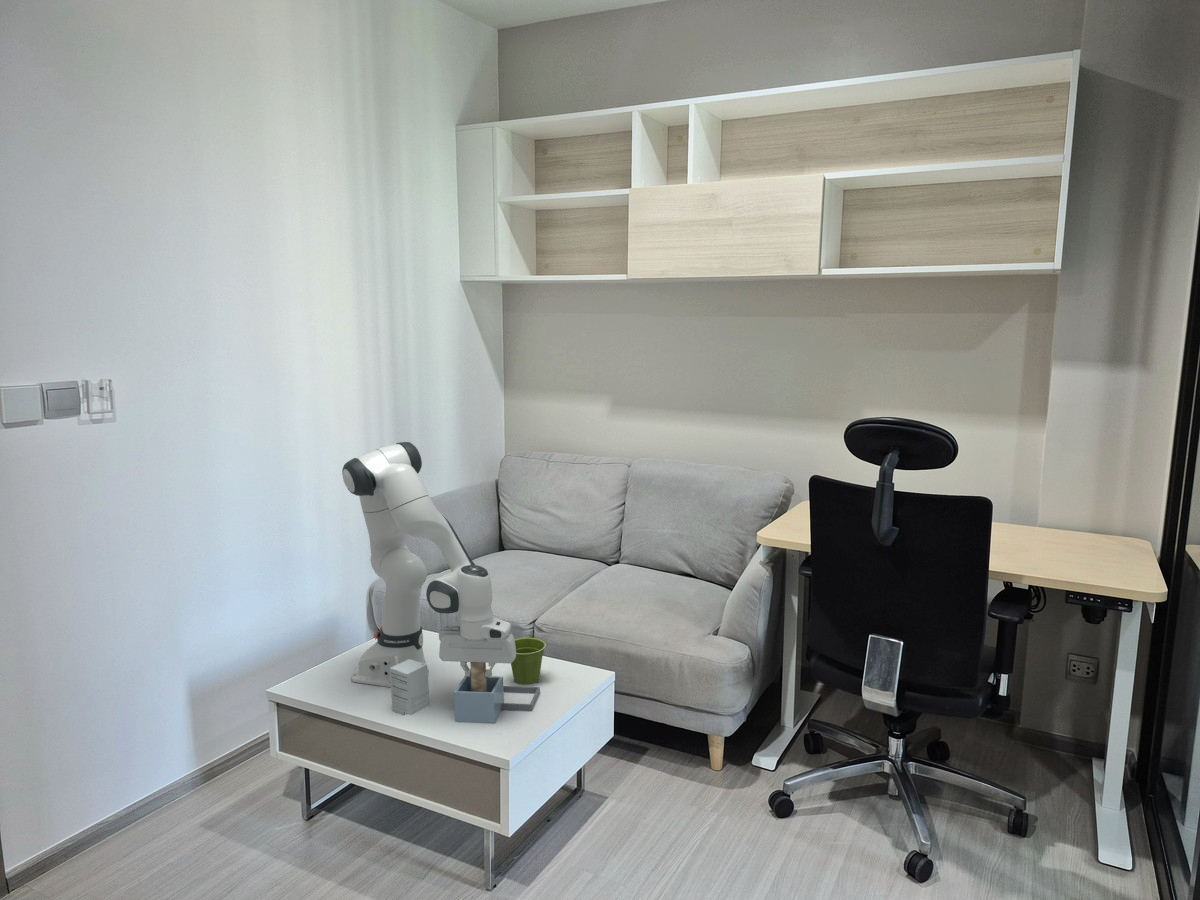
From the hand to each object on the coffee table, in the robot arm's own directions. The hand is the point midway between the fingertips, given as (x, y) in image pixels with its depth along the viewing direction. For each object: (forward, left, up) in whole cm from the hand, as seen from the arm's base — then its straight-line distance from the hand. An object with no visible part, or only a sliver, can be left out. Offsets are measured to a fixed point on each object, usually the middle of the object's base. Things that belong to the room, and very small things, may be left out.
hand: (478, 676), depth 222 cm
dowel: (0, 0, -10) cm, 10 cm away
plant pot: (+8, +22, -11) cm, 26 cm away
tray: (+8, +8, -11) cm, 16 cm away
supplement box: (-20, +2, -11) cm, 23 cm away
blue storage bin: (0, 0, -11) cm, 11 cm away
